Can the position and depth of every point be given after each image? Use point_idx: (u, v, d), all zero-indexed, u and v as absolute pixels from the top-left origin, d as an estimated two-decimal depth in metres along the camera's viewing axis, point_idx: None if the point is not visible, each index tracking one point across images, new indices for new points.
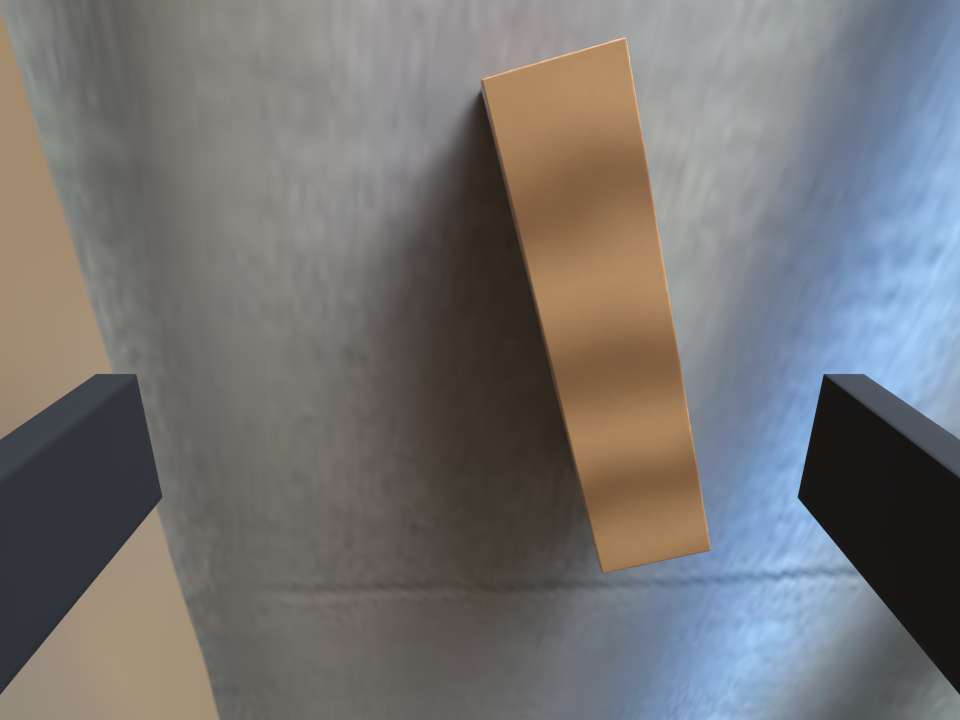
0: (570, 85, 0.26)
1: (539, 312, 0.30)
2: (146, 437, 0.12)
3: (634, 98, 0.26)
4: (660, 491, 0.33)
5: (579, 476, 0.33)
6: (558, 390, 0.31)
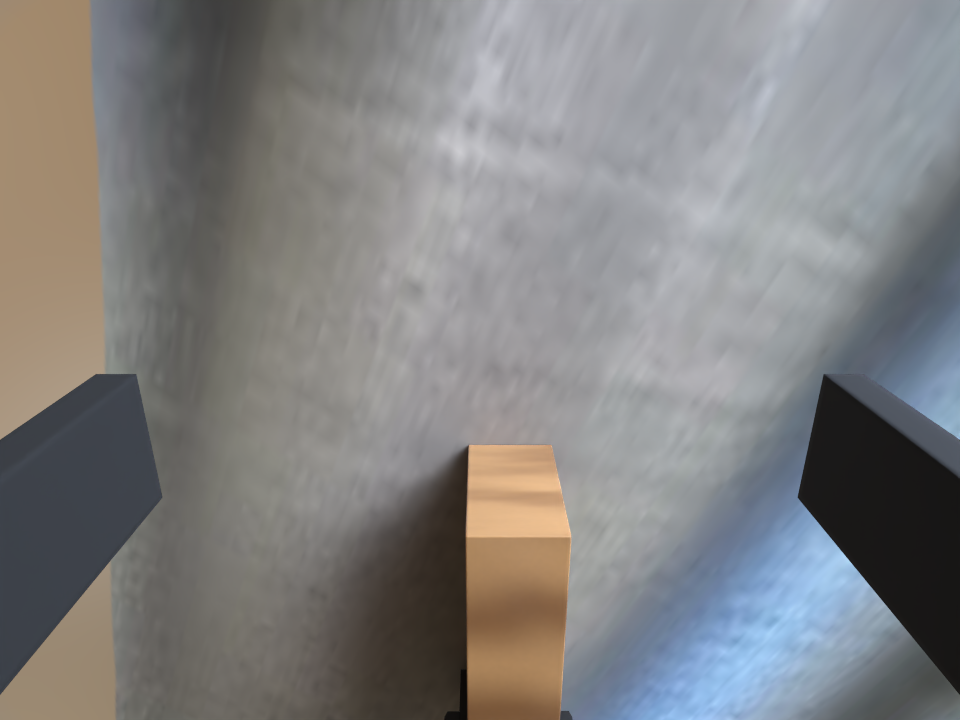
0: (525, 553, 0.36)
1: (467, 673, 0.40)
2: (146, 437, 0.12)
3: (568, 570, 0.37)
4: None
5: None
6: None
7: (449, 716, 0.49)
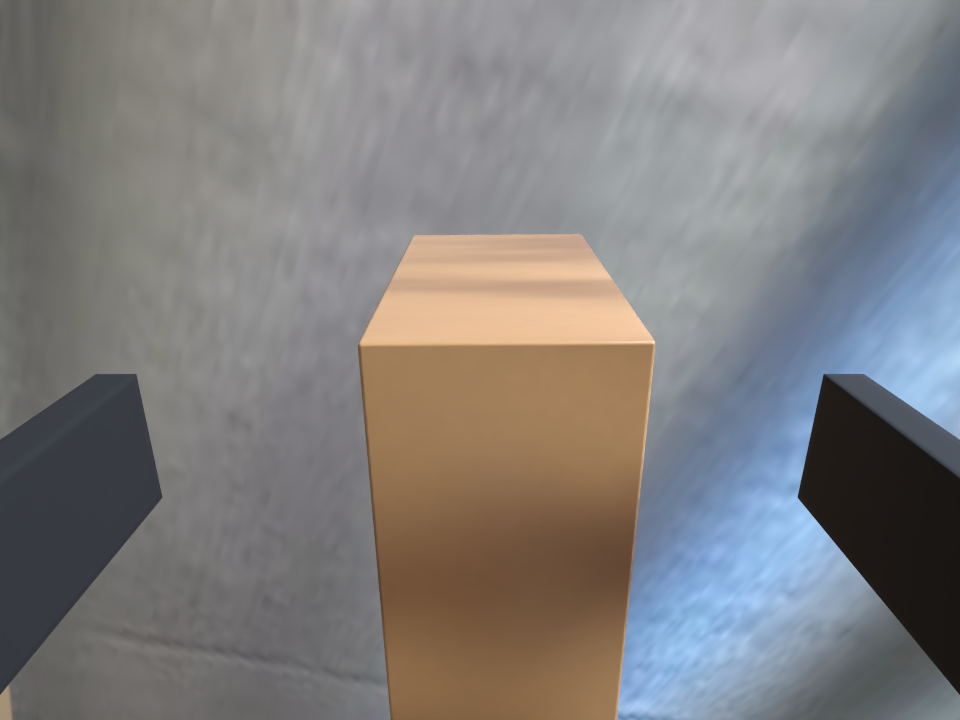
0: (527, 395, 0.13)
1: (391, 708, 0.17)
2: (146, 436, 0.12)
3: (642, 443, 0.14)
4: None
5: None
6: None
7: None
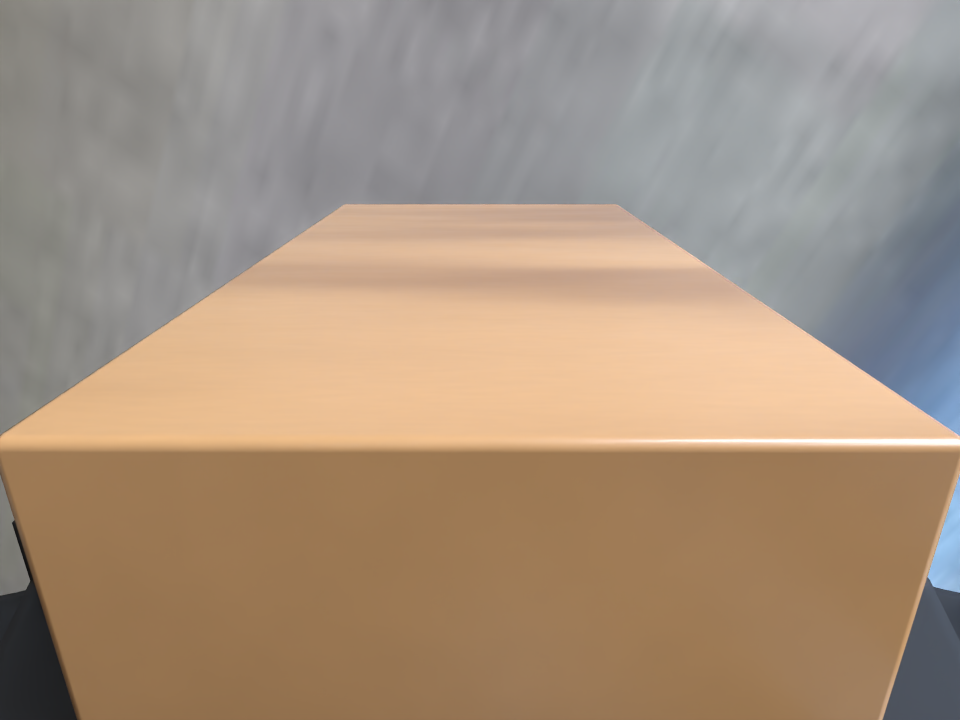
0: (547, 596, 0.04)
1: None
2: None
3: None
4: None
5: None
6: None
7: None
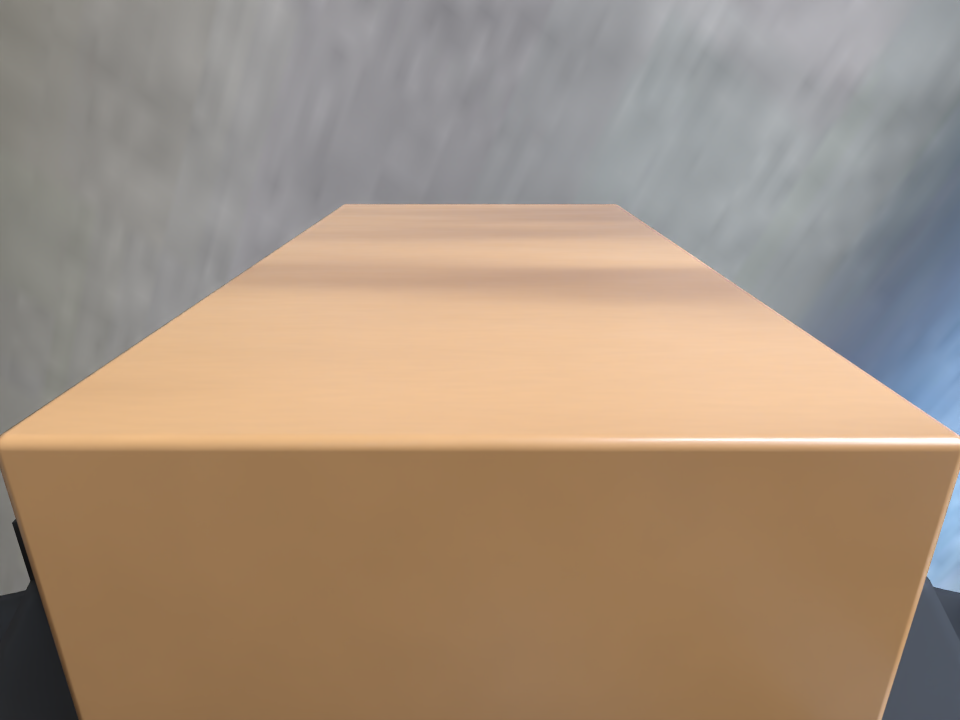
0: (547, 595, 0.04)
1: None
2: None
3: None
4: None
5: None
6: None
7: None
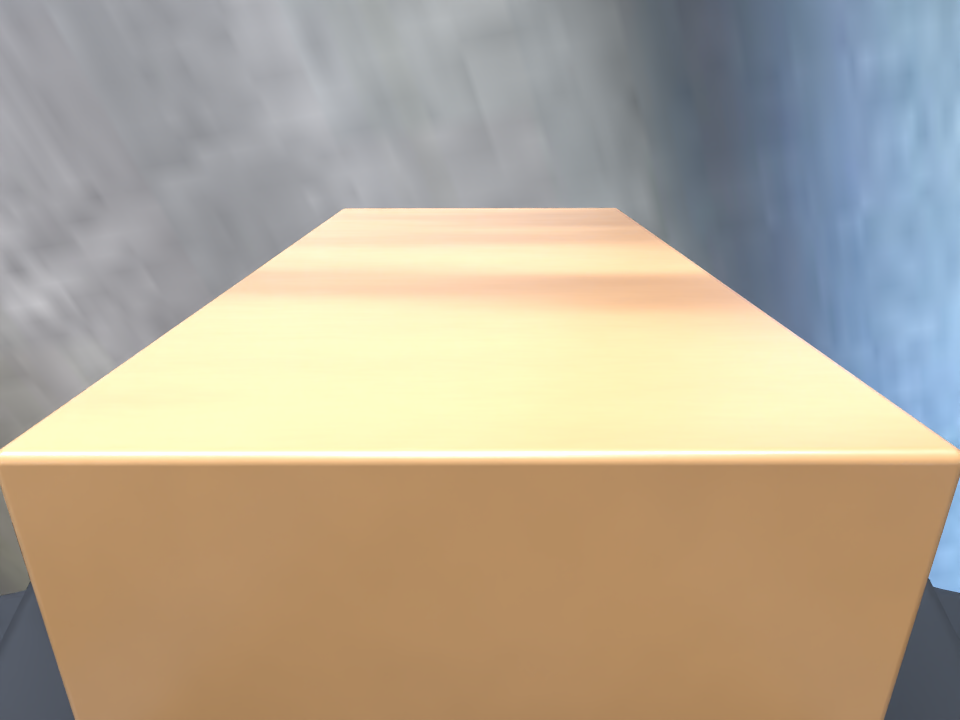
0: (545, 606, 0.04)
1: None
2: None
3: None
4: None
5: None
6: None
7: None
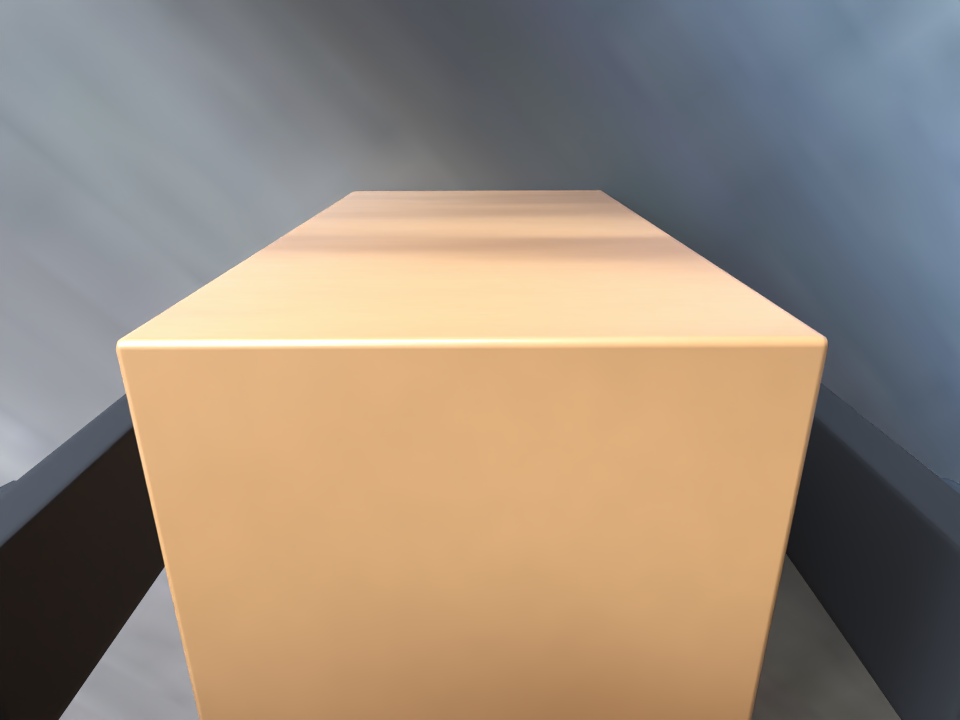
0: (523, 462, 0.06)
1: None
2: None
3: (777, 567, 0.06)
4: None
5: None
6: None
7: None
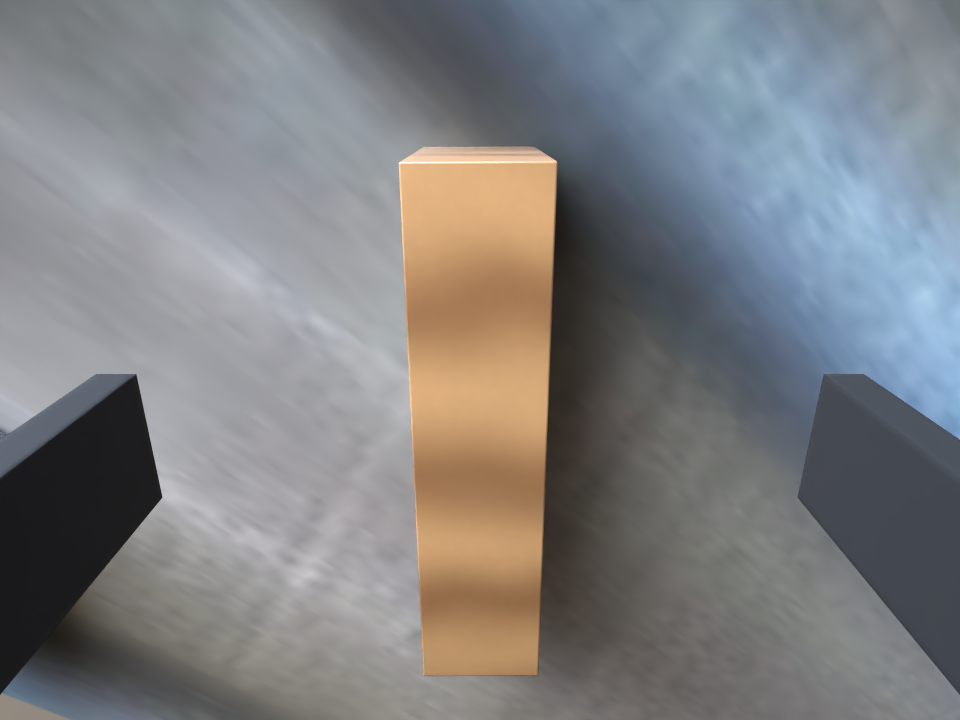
0: (490, 193, 0.24)
1: (411, 408, 0.28)
2: (146, 437, 0.12)
3: (553, 223, 0.25)
4: (499, 609, 0.32)
5: (419, 577, 0.31)
6: (415, 489, 0.29)
7: None
